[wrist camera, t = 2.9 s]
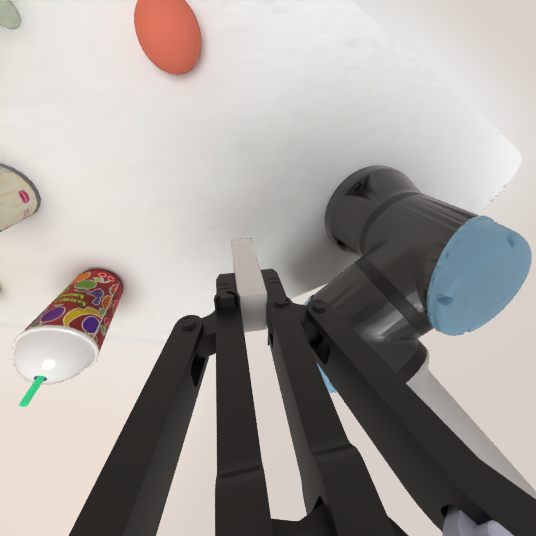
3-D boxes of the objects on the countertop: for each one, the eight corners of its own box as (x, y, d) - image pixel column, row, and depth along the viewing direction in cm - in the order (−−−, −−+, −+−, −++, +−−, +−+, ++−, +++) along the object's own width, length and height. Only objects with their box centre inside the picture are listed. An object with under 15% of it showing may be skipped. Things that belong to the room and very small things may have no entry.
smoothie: (104, 254, 37) (16, 368, 20) (140, 289, 41) (93, 405, 25) (59, 275, 37) (-62, 404, 21) (100, 308, 42) (28, 433, 26)
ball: (200, 8, 24) (197, -19, 19) (203, 81, 27) (201, 74, 22) (137, -5, 23) (117, -37, 18) (148, 73, 26) (133, 64, 21)
